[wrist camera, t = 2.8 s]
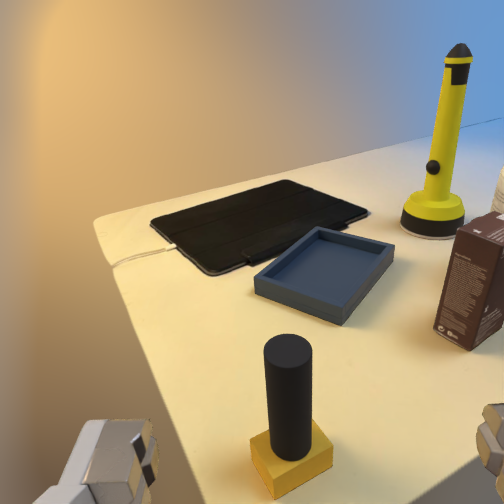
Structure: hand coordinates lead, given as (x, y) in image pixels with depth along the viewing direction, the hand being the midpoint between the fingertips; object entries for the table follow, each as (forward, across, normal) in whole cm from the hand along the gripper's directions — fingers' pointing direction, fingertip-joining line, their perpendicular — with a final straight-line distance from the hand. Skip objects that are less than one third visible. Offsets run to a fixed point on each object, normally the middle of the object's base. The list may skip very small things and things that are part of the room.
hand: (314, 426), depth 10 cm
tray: (+37, -6, +20) cm, 43 cm away
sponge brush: (+12, 0, +20) cm, 24 cm away
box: (+26, -19, +21) cm, 38 cm away
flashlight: (+50, -24, +21) cm, 59 cm away
